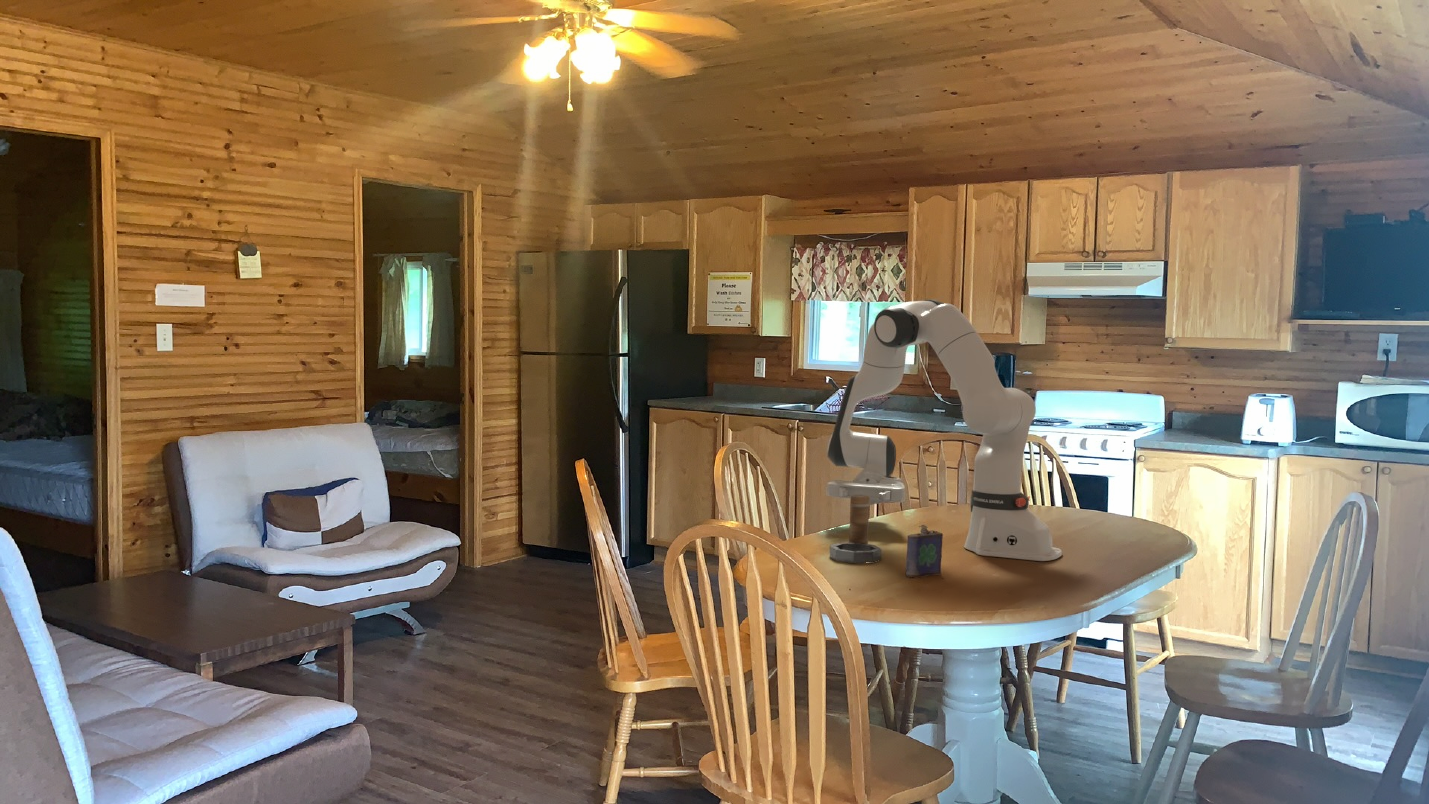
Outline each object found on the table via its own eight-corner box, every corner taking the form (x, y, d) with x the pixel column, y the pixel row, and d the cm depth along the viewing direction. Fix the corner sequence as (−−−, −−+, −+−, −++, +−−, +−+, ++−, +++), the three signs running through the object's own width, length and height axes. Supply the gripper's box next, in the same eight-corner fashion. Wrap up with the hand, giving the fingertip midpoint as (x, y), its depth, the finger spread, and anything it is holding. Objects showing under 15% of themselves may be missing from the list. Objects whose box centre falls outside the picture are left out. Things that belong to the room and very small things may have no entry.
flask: (911, 578, 225) (912, 528, 224) (901, 575, 227) (903, 525, 227) (943, 574, 229) (945, 525, 229) (934, 571, 232) (936, 522, 231)
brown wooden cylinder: (871, 545, 259) (872, 496, 259) (862, 548, 255) (864, 498, 255) (854, 542, 262) (855, 494, 261) (845, 545, 258) (847, 496, 257)
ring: (886, 557, 245) (887, 546, 245) (866, 565, 236) (866, 554, 236) (844, 551, 251) (844, 540, 251) (823, 558, 242) (823, 548, 242)
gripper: (829, 473, 285) (823, 480, 272) (907, 478, 281) (904, 486, 267) (828, 496, 286) (821, 504, 273) (905, 502, 281) (902, 511, 268)
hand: (863, 495), depth 270 cm, fingers open, 8 cm apart
